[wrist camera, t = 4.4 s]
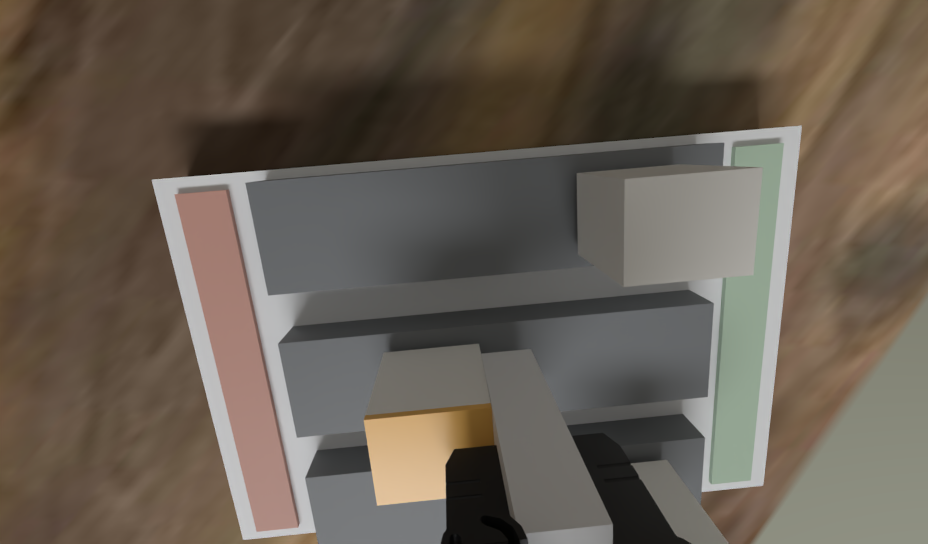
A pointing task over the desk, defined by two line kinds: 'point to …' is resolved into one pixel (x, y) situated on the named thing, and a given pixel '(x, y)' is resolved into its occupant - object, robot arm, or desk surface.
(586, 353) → the breaker panel
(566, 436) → the robot arm
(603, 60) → the desk surface
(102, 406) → the desk surface
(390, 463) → the block
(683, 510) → the block
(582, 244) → the block
